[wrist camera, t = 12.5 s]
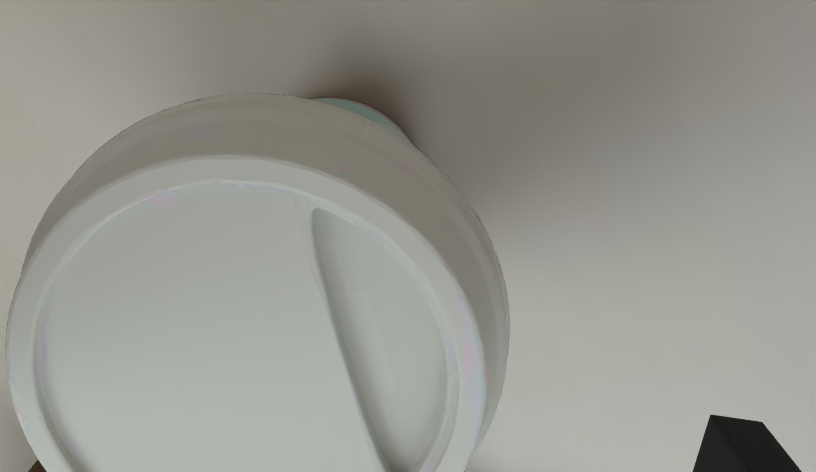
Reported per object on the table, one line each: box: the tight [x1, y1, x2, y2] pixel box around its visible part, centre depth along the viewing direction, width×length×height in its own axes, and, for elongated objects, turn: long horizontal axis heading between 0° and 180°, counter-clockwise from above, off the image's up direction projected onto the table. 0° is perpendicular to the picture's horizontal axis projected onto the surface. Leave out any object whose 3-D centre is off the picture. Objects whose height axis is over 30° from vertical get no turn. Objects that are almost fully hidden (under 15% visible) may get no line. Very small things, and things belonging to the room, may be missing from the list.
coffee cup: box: [5, 94, 510, 472], centre depth 17 cm, size 8×8×12 cm
